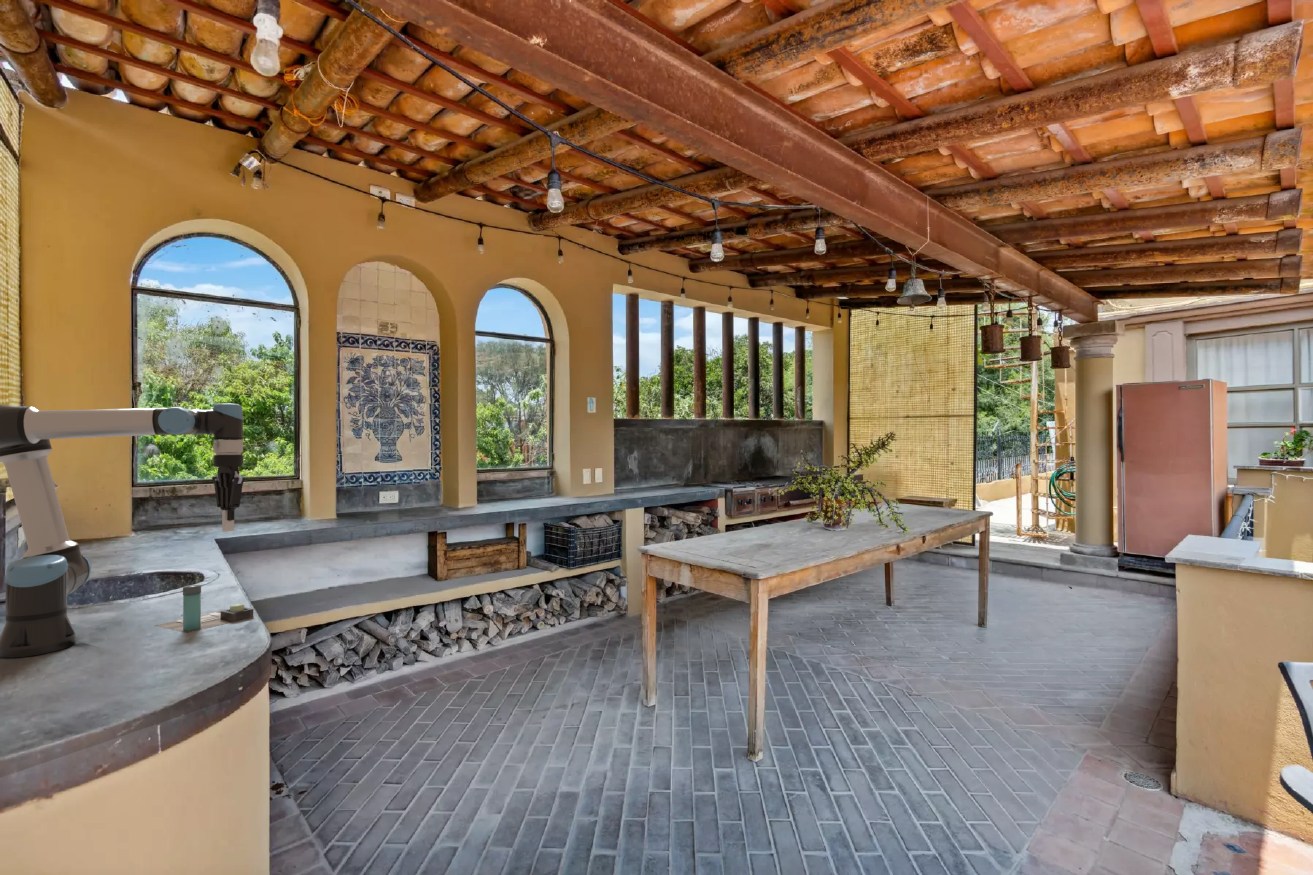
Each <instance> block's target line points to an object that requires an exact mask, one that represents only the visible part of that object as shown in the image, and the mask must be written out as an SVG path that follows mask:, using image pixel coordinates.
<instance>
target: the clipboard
mask: <svg viewBox="0 0 1313 875" xmlns="http://www.w3.org/2000/svg"><path fill="white" fill-rule="evenodd" d="M252 618H254V608H251V607H246V606H244V610H243V611H239V612H235V613H233V612H230V608H229V609H224V610H219V611H214V612H210V613H206V614H201V628H200V629H199V630H195V631H183V618H182V619H179V620H174V621H170V622H165V623H159V624H156V625H155V626H156V627H162V628H165V629H167V630H172V631H173V630H174V631H177V632H181V633H187V634H189V633H194V632H197V631H201V630H206V629H211V628H215V627H218V626H222V625H223V626H224V625H225V624H226V625H227V624H231V623H234V622H239V621H243V620H248V619H252Z"/></svg>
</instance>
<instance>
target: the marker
mask: <svg viewBox="0 0 1313 875" xmlns="http://www.w3.org/2000/svg"><path fill="white" fill-rule="evenodd" d="M182 599H183V600H182V605H183V606H182V608H183V609H182V619H183V631H194V632H196V631H195V630H198V631H200V630H199V629H200V628H201V615H202V612H201V610H202V608H201V607H202V606H201V604H202V603H201V602H202V600H201V599H202V584H201V585H200V584H191V585H184V586H183V587H182Z"/></svg>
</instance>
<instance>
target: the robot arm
mask: <svg viewBox="0 0 1313 875" xmlns="http://www.w3.org/2000/svg"><path fill="white" fill-rule="evenodd" d="M243 416H244V414H243V406H242V405H240V404H238V403H225V402H224V403H220V402H219V403H214V405H213V408H212V409H190V408H185V407H182V406H170V407H158V408H156V407H152V408H151V407H147V408H145V407H144V408H139V407H138V408H106V409H105V408H104V409H103V408H101V409H100V408H98V409H97V408H96V409H59V410H58V409H57V410H56V409H55V410H51V409H49V410H39V409H37V408H36V407H34V406H25V405H23V406H22V405H17V406H16V405H7V404H0V463H2V464H4V467H5V471H6V475H7V477H8V481H9V485H10V489H11V493H12V496H13V498H14V499H13V500H14V503H15V506H16V510H17V513H18V517H19V520H20V524H21V527H22V530H23V535H24V537H25V541H26V545H27V548H28V549H27V550H26V552H25V553H24V554H23V555H22V558H20V559H17V560H15V561H12V562H11V563H9V564H8V565H7V567H6V570H5V575H4V581H5V582H4V584H5V587H4V588H5V623H4V627H3V628H2V631H1V633H0V658H2V659H3V658H4V659H5V658H7V659H8V658H9V659H10V658H11V659H13V658H14V659H15V658H24V657H25V658H26V657H31V656H32V657H33V656H39V655H44V654H49V653H52V652H57V651H61V650H64V649H67V648H70V647H72V646H74V645H75V644H76V642H77V640H76V636H77V635H76V634H77V633H76V632H75V630H74V628H73V625H72V623H71V620H70V618H69V617H68V595H72V594H74V593H76V592H78V591H79V590H80V589H81V588H82V587H83V586H84V585H85V584H86V583H87V582H88V580H89V579H90V576H91V573H92V566H91V564H90V561H89V559H88V558H87V557H86V556H84V555H83V554H82V553H81V549H80V545H79V543H78V542H77V541H74V540H71V539H70V536H69V532H68V528H67V525H66V521H65V518H64V517H65V516H64V514H63V511H62V507H61V503H60V500H59V496H58V493H57V489H56V485H55V482H54V479H53V475H52V471H51V468H50V464H49V461H48V456H49V455H50V454H51V452H52V451H53V448H52V444H51V441H50V440H60V439H82V438H85V439H86V438H88V439H89V438H90V439H91V438H107V437H108V438H109V437H110V438H113V437H134V436H135V437H136V436H163V435H164V436H167V435H168V436H169V435H171V436H172V435H176V436H183V435H184V436H185V435H189V436H190V435H191V436H192V435H194V436H195V435H208V436H209V435H213V444H212V446H213V453H214V455H213V467H214V468H218V470H217V475H215V476H212V477H211V478H212V481H213V482H212V483H213V486H214V492H215V499H216V506H217V508H220V510H221V513H222V514H221V516H222V517H221V518H222V519H221V522H222V523H221V524H222V525H221V532H223V533H226V532H234V531H235V510H236V509H238V508H240V504H241V500H242V499H241V498H242V491H243V486H244V482H245V481H246V479H245V477H244V476H241V475H240V469H239V468H241V467H243V465H244V456H243V454H242V453H243V452H244V439H243V437H244V417H243Z"/></svg>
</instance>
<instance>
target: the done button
mask: <svg viewBox="0 0 1313 875" xmlns="http://www.w3.org/2000/svg"><path fill="white" fill-rule="evenodd" d="M244 607H245V604H244V603H236V604H231V605H230V606H229V609H230V612H233V613H235V612H239V611H243V610H244Z"/></svg>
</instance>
